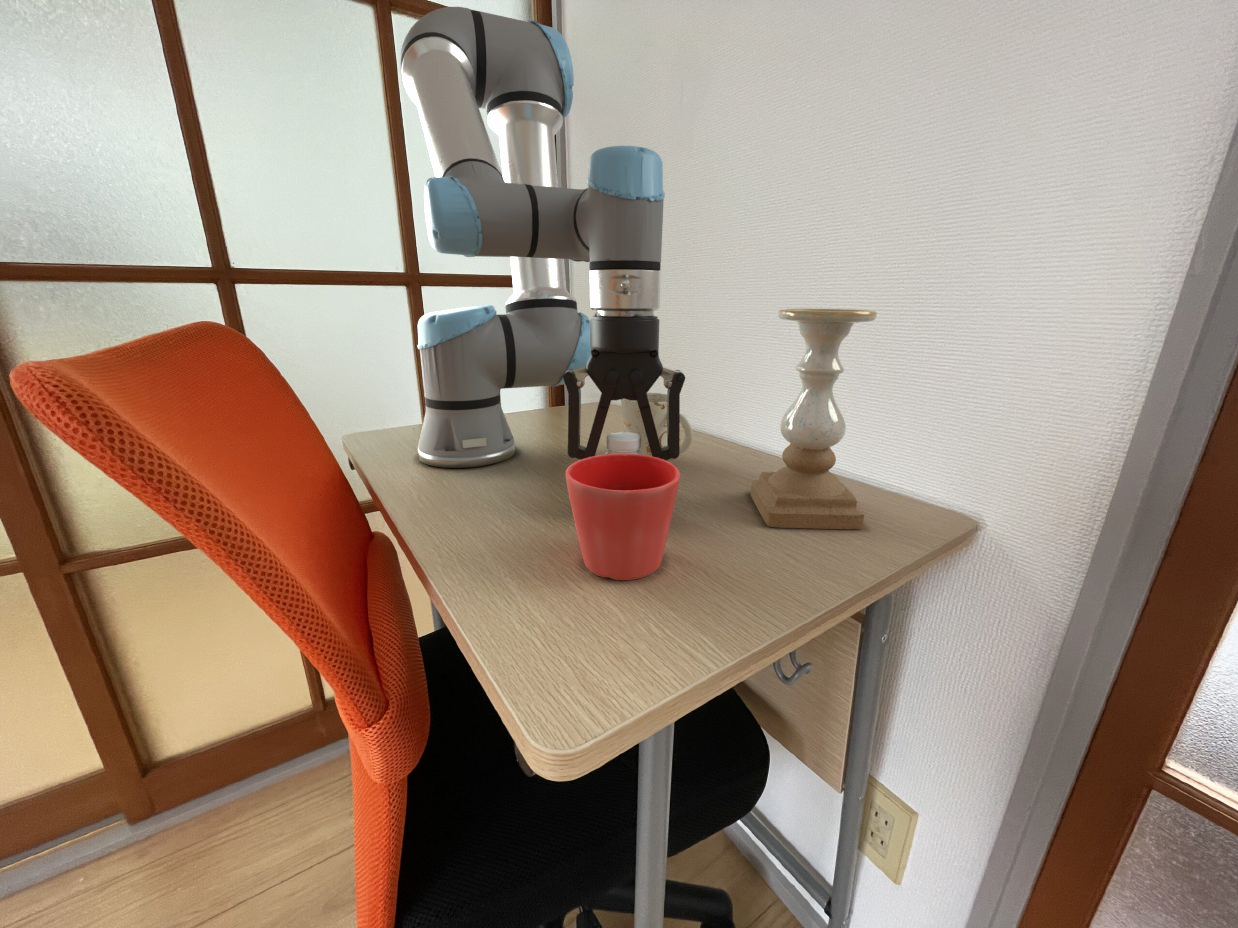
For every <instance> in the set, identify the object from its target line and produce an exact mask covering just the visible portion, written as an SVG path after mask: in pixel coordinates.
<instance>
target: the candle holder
mask: <svg viewBox="0 0 1238 928" xmlns="http://www.w3.org/2000/svg"><path fill="white" fill-rule="evenodd" d="M877 317H878V312H877V311H876V310H872V309H855V308H854V309H853V308H852V309H850V308H782V309H781V308H780V309H779V311H778V318H779V320H783V321H791V322H796V323H797V324H798V330H799V333H800V335H801V336H802V338H803V340H804V343H805V352H804V354H803V357H802V358H801V359H800V361H799V362H798V363H797V364H796V365H795V370H796V371H797V372H798V374H799V375H798V376H799V378H800V381H801V390H800V392H799V394H798V395H797V396H796V397H797V398H795V400H794V401H793V403H791V405H790V407H788V409H787V410H786V411H785V413H784V414H783V416H782V418H781V421H780V423H779V424H780V425H779V430H780V433H781V435H782V437H783V438H784V439H785V441H786V442H788V443H789V445H787V446H786V447H785V448H784V449H783V451H782V455H781V458H782V461H783V463H784V464H785V466H783V467H781V468H780V469H777V470H776V471H761V472H760V473H759V476H758V479H754V480H752V481H751V487H750V498H751V500H752V501H753V503H754V505H755V507H756V509H757V510H758V512H759V515H760V516H761V518H762V520H763V521H764V523H765V524H766V526H768V527H770V528H780V529H781V528H783V529H815V530H816V529H820V530H824V529H825V530H863V527H864V519H865V513H864V512H863V511H862V510H861V509H860V507H859V506H858V500H857V498H856V496H855V495H854V493H852V491H850V489H849V488H847V487H846V485H845V484H844V483H842V481H841V480H840V479H839V478H838V477H837V476H836V475H835V474H834V473H832V472H831V471H829V470H831V469H832V468H833V467H834V466H836V465H835V464H836V463H837V458H836V457H837V456H836V454H835V453H834V451H833V450H832V447H834V446H835V445H838V444H839V443H840V442H841V441H842V440H843V439H844V437H845V436H846V427H847V426H846V425H847V424H846V421H845V419H844V416H843V413H842V412H841V410H840V408H839V406H838V404H837V402H836V399H835V396H834V392H833V390H834V389H833V388H834V385H835V383H836V382H837V380H838V379H839V376H840V375H841V374H843V373H844V371H845V367H844V366H843V364H842V362H841V359H840V356H839V349H840V347H841V344H842V342H843V341H844V340H845V338H847V337H848V336H849V334H850V333H851V330H852V327H853V326H854V324H858V323H869V322H874V321H876V319H877Z"/></svg>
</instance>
